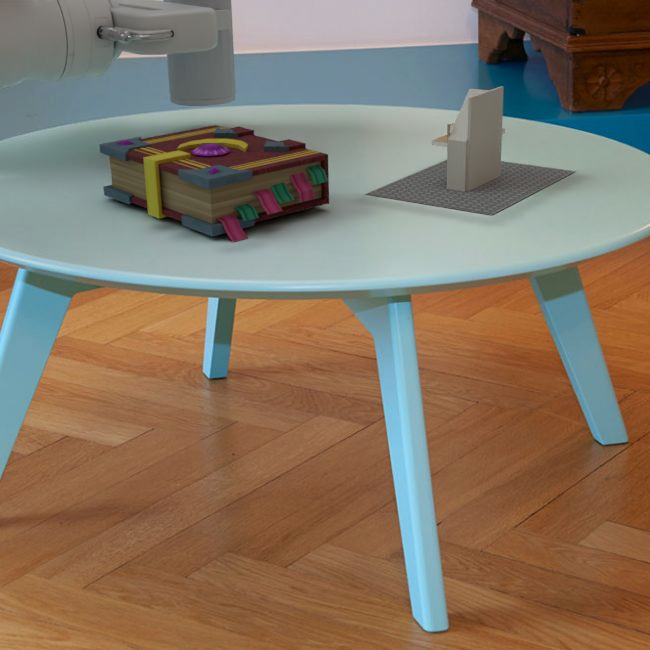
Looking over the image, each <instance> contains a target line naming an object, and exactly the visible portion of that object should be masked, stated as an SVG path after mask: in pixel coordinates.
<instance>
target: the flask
mask: <svg viewBox="0 0 650 650" xmlns="http://www.w3.org/2000/svg"><path fill="white" fill-rule="evenodd" d="M162 1H164V2H171V3H179V4H186V5H193V6H201V7H208V8H212V9H226V10H230V11H231V13H232V12H233V9H232V0H162ZM232 14H233V13H232ZM217 35H218V42H217V46H216V47H215V48H213V49H211V50H207V51H199V52H189V53H177V54H166V60H167V61H166V62H167V76H168V77H167V78H168V91H169V98H170V99H169V100H170V103H171V104H174V105H177V106H184V107H186V106H187V107H209V106H219V105H225V104H229V103H231V102H234V101H235V100H236V73H235V72H236V70H235V69H236V68H235V52H234V51H235V49H234V31H233V26H232V27H231V28H230V29H229V30H220V31H217Z"/></svg>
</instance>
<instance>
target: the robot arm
mask: <svg viewBox="0 0 650 650" xmlns="http://www.w3.org/2000/svg"><path fill="white" fill-rule="evenodd" d="M231 27H232V28H233V13H231V11H230V10H226V9H212V8H208V7H201V6H193V5H186V4H179V3H171V2H164V1H163V0H0V90H3V89H9V88H12V87H15V86H17V85H19V84H21V83H24V82H31V81H32V82H33V81H34V82H39V83H40V82H41V83H58V82H59V83H60V82H65V81H73V80H82V79H88V78H89V79H90V78H97V77H101V76H103V75H105V74H106V73H107V72H108V71H109V69H110V68H111V64H112V62H113V61H116V60H118V59H119V58H120V56H121V54H122V52H124V53H130V54H135V55H141V56H162V55H167V54H177V53H189V52H199V51H207V50H211V49H213V48H215V47H216V46H217V42H218V35H217V31H220V30H229V29H230V28H231Z"/></svg>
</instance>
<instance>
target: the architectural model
mask: <svg viewBox="0 0 650 650" xmlns="http://www.w3.org/2000/svg"><path fill="white" fill-rule="evenodd" d="M504 87H505V86H502V85H501V86H497V87H495V88H492V89H489V90H488V89H478V88H469V89H468V91H467V93H466V96H465V98H464V100H463V102H462V105H461V107H460V109H459V111H458V112H459V113H457V116H456V118H455V121H454V122H453V123H447V125H446V131H447V132H446V134H445V135H441V136H439V137H437V138H435V139H432V140H431V145H432V146H437V147H444V148H447V149H446V159H445V160H443V161H441V162H439V163H436V164H433V165H430V166H429V167H426V168H424V169H422V170H419V171H417V172H415V173H412V174H410V175H407V176H405V177H402V178H400V179H398V180H395V181H392V182H391V183H388V184H386V185H384V186H381V187H378V188H376V189H374V190H371V191H369V192H367V193H366V195H368V196H369V195H370V196H374V197H381V198H387V199H393V200H399V201H405V202H410V203H416V204H417V203H418V204H425V205H428V206H435V207H442V208H448V209H452V210H453V209H454V210H460V211H466V212H471V213H478V214H485V215H489V216H490V215H491V216H493V215H495V214H497V213H498V212H500V211H503V210H504V209H506V208H508V207H511V206H512V205H514V204H516V203H518V202H520V201H522V200H523V199H525V198H527V197H530V196H531V195H533V194H535V193H538V192H539V191H541V190H542V189H545V188H546V187H549V186H551V185H552V184H554V183H556V182H558V181H560V180H562V179H564V178H566V177H568V176H569V175H571V174H573V173H575V172H576V170H569V169H562V168H555V167H548V166H539V165H534V164H533V165H532V164H525V163H518V162H510V161H505V160H503V161H502V144H503V143H502V140H503V135H504V134H506V128H503V119H504V118H503V117H504V91H505V90H504V89H505V88H504ZM451 126H452V127H451Z"/></svg>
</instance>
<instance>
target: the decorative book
mask: <svg viewBox="0 0 650 650" xmlns="http://www.w3.org/2000/svg"><path fill="white" fill-rule="evenodd" d="M98 145H99V154H101V155H105V156H108V157H109V167H110V168H109V169H110V179H111V184H109V185H106V186H105V185H104V186H103V195H104V197H108V198H111V199H114V200H117V201H119V202H122V203H124V204H127V205H131V204H134V205H137V206H140V207H142V208H145V209H147V215H149V216H151V217H154V218H156V219H158V220H159V219H164V218H172V219H174V220H176V221H179V222H181V225H182V226H184V227H187V228H189V229H192V230H194V231H197V232H200V233H201V234H205V235H207V236H209V237H217V236H220V235H224V234H227V237H228V238H229V239H230V240H231V242H232V243H234V242H238V241H242V240H246V239H248V238H249V237H248V235H247V234H246V233H245V232H244V230H243V229H246V228H250V227H254V226H255V225H256V224H255V223H259V222H262V221H266V220H271V219H274V218H278V217H281V216H286V215H290V214H293V213H297V212H301V211H305V210H309V209H312V208H317V207H321V206H325V205H329V204H330V187H329V186H330V181H329V179H330V178H329V177H330V176H329V154H328V153H324V152H320V151H317V150H313V149H309V148H307V147H306V146H307V145H306V143H305V142H302V141H298V140H294V139H290V138H288V139H283V140H274V139H271V138H267V137H263V136H259V135H255V130H254V129H250V128H246V127H242V126H235V127H229V128H228V127H224V126H221V125H216V124H213V125H208V126H203V127H199V128H198V127H197V128H191V129H187V130H182V131H181V130H180V131H176V132H170V133H165V134H160V135H154V136H150V137H144V138H142V137H141V136H137V137H136V136H135V137H132V138H124V139H120V140H119V139H118V140H113V141H108V142H102V143H99V144H98Z"/></svg>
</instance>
